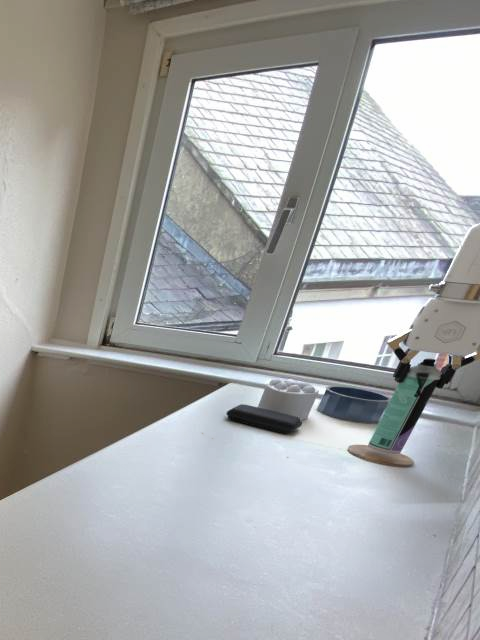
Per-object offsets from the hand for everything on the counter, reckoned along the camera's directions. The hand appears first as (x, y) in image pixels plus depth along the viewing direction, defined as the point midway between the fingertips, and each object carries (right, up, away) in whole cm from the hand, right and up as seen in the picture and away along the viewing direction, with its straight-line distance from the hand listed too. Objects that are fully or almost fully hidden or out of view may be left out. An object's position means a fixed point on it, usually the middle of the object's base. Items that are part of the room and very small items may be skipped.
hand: (417, 383), depth 114 cm
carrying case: (-13, -6, +25) cm, 29 cm away
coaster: (-1, -15, +7) cm, 17 cm away
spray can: (-1, -14, +7) cm, 15 cm away
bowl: (+17, -2, +34) cm, 39 cm away
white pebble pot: (-3, -3, +33) cm, 33 cm away
